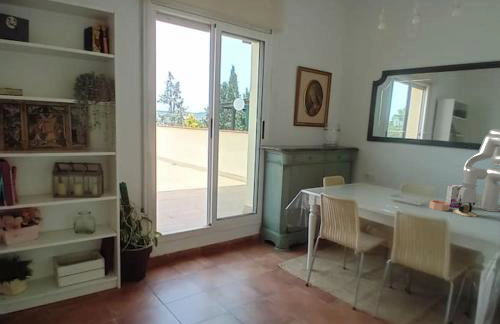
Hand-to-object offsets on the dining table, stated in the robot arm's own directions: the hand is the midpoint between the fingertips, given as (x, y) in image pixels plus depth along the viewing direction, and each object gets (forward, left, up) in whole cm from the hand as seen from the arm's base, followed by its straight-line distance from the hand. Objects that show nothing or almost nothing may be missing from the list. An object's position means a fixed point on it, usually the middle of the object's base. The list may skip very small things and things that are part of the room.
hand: (464, 211), depth 223 cm
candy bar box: (-5, -18, -2) cm, 19 cm away
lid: (0, 0, -2) cm, 2 cm away
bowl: (+11, -11, -2) cm, 16 cm away
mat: (0, 0, -2) cm, 2 cm away
